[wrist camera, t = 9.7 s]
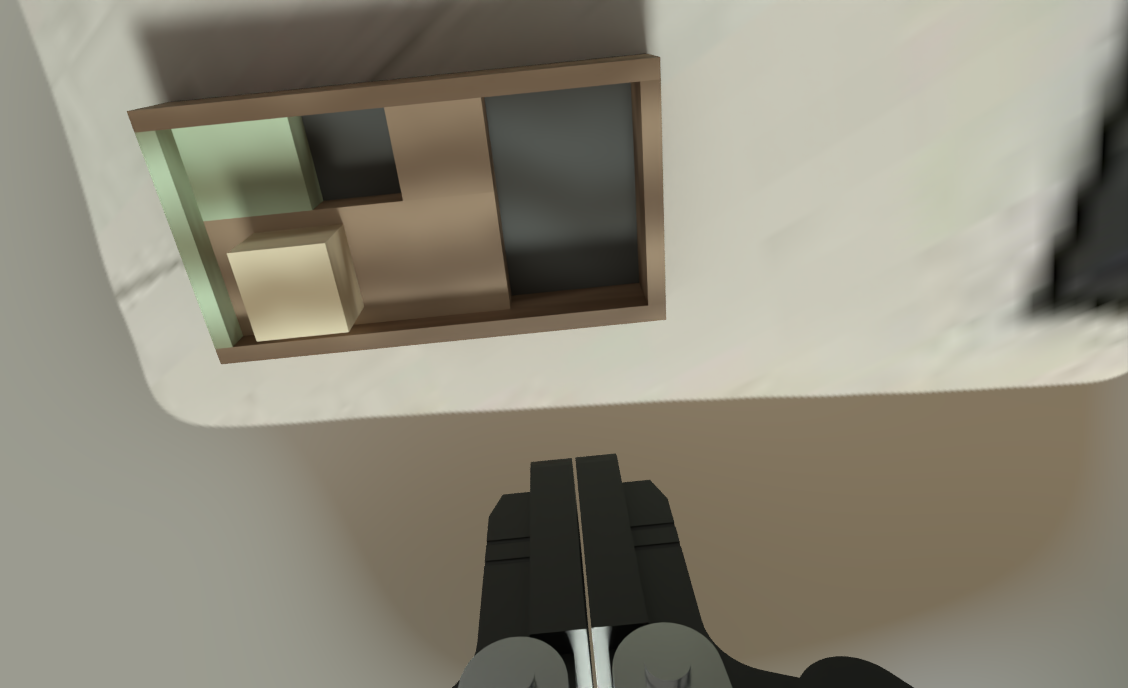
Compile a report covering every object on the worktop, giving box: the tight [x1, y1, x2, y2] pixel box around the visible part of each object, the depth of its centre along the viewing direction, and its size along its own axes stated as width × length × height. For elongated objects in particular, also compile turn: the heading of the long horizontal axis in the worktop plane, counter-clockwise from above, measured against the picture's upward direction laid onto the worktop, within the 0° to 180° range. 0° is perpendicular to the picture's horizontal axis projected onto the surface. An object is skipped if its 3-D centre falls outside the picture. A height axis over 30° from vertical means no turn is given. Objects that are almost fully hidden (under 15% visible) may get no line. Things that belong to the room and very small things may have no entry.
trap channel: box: [127, 54, 666, 364], centre depth 36 cm, size 14×26×4 cm, turn 95°
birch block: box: [227, 224, 364, 342], centre depth 35 cm, size 5×5×4 cm
